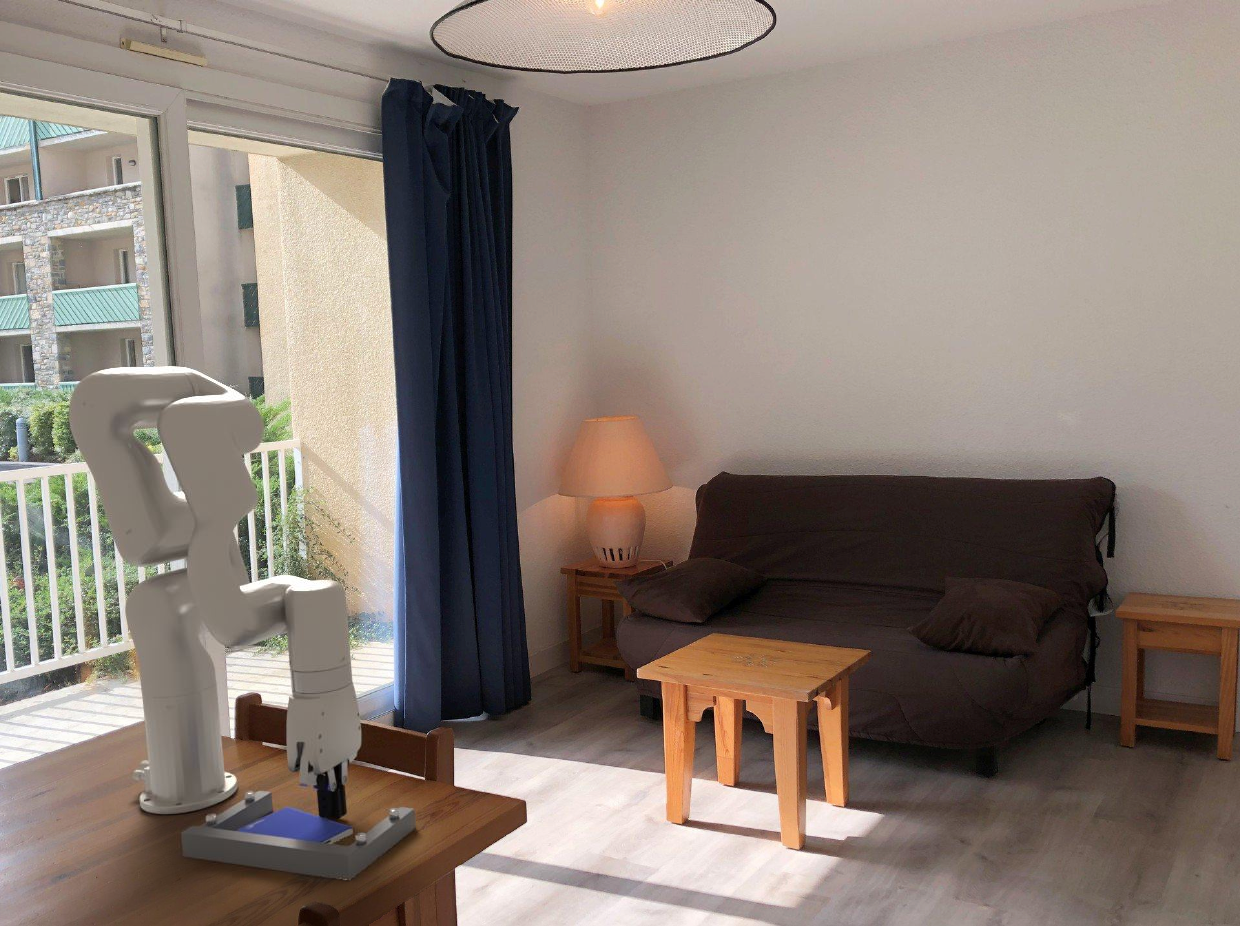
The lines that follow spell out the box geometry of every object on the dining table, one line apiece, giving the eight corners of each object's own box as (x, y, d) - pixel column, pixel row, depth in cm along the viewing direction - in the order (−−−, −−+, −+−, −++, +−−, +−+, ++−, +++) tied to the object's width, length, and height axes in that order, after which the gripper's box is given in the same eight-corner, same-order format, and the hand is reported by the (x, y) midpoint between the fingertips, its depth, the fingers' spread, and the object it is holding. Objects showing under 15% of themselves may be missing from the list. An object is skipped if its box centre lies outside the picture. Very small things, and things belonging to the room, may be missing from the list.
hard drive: (235, 829, 130) (299, 851, 123) (289, 805, 136) (352, 824, 129) (236, 841, 130) (300, 864, 123) (290, 816, 136) (353, 836, 129)
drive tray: (183, 856, 125) (180, 828, 125) (260, 808, 138) (258, 783, 138) (349, 880, 117) (347, 851, 117) (415, 827, 130) (413, 800, 130)
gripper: (332, 660, 140) (342, 790, 142) (258, 694, 126) (271, 838, 128) (379, 662, 138) (389, 795, 139) (309, 698, 124) (322, 845, 125)
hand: (333, 815), depth 134 cm, fingers closed
